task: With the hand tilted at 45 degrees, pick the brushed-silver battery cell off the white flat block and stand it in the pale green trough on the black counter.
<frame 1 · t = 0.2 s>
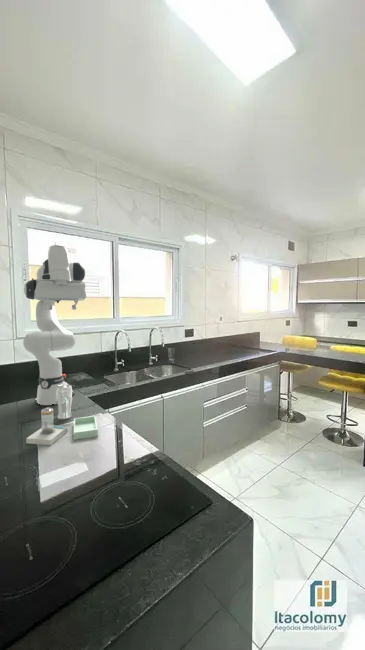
hand: (62, 309, 119), 51 cm above the counter, tool tilted 20°, fingers open, 8 cm apart
trough: (85, 430, 118), on the counter
cell: (47, 431, 112), point 2 cm above the counter, touching white flat block
white flat block: (47, 437, 112), on the counter
clear plastic bottle: (64, 417, 132), on the counter
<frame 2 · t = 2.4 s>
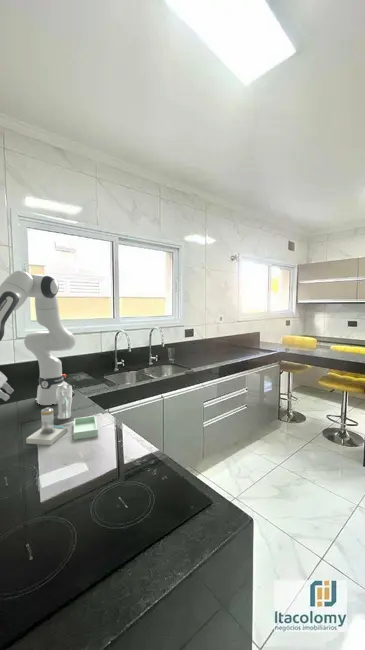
hand: (10, 395, 105), 19 cm above the counter, tool tilted 45°, fingers open, 8 cm apart
nothing on the counter moved.
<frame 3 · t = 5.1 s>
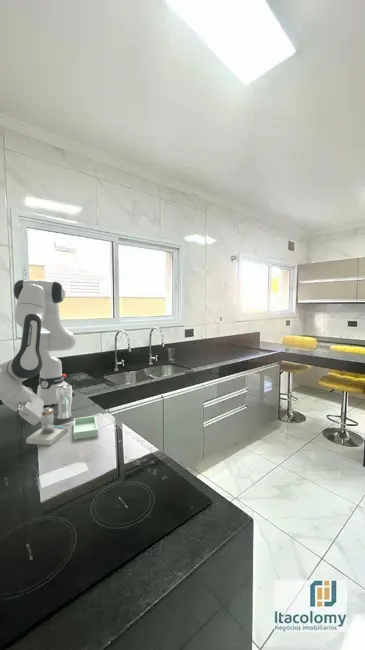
hand: (49, 420, 112), 7 cm above the counter, tool tilted 45°, fingers closed on cell, 4 cm apart
cell: (47, 431, 112), point 2 cm above the counter, touching white flat block, gripper
everything else where it was.
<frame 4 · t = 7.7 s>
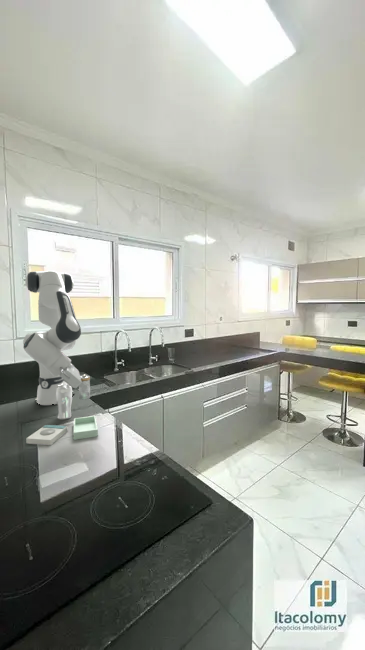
hand: (85, 386, 117), 19 cm above the counter, tool tilted 45°, fingers closed on cell, 4 cm apart
cell: (84, 397, 117), point 14 cm above the counter, touching gripper
everything else where it was.
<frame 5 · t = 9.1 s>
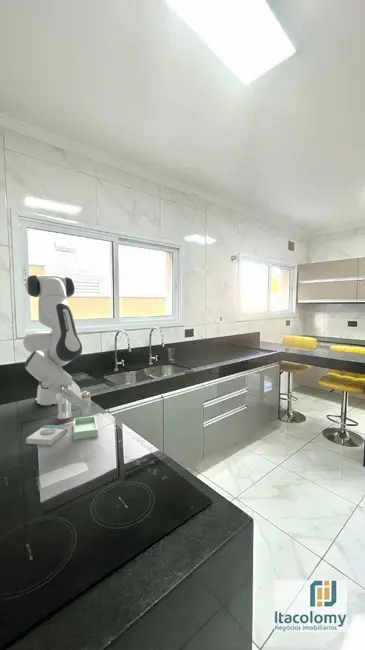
hand: (86, 403, 118), 12 cm above the counter, tool tilted 45°, fingers closed on cell, 4 cm apart
cell: (85, 414, 118), point 7 cm above the counter, touching gripper
everything else where it was.
when the fingers open (7 cm above the counter, at t = 10.4 s): cell drops 1 cm, resting on trough.
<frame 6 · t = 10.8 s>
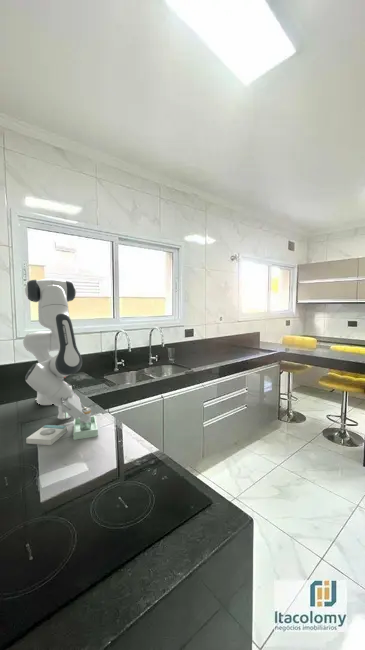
hand: (86, 414, 118), 7 cm above the counter, tool tilted 45°, fingers open, 8 cm apart
cell: (85, 430, 117), point 1 cm above the counter, touching gripper, trough
everything else where it was.
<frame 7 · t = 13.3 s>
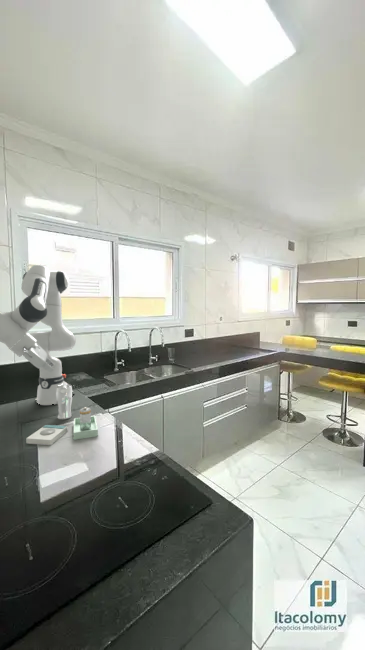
hand: (52, 368, 114), 27 cm above the counter, tool tilted 45°, fingers open, 8 cm apart
cell: (85, 430, 117), point 1 cm above the counter, touching trough
everything else where it was.
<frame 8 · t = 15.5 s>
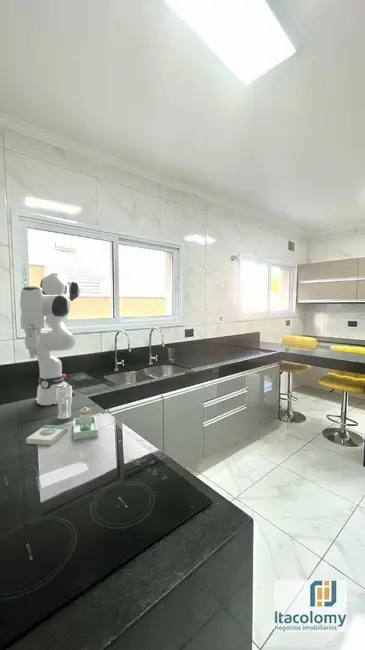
hand: (33, 356, 119), 31 cm above the counter, tool pointing down, fingers open, 8 cm apart
nothing on the counter moved.
at the end: cell 1.7 cm from the trough (horizontally); cell point 0.6 cm above the counter; cell touching trough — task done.
